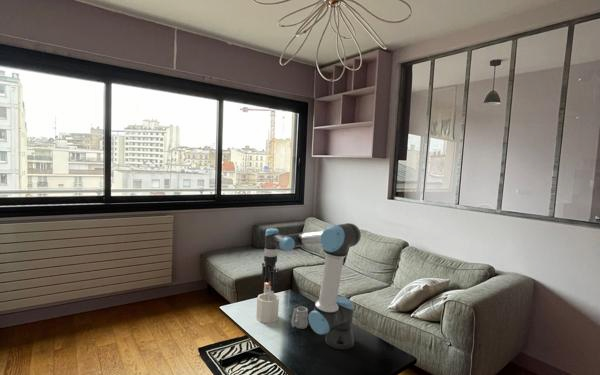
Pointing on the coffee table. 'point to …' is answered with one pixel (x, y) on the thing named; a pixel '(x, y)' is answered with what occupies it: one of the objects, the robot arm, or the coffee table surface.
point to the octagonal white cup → (267, 308)
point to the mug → (300, 318)
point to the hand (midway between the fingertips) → (268, 294)
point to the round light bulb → (267, 288)
